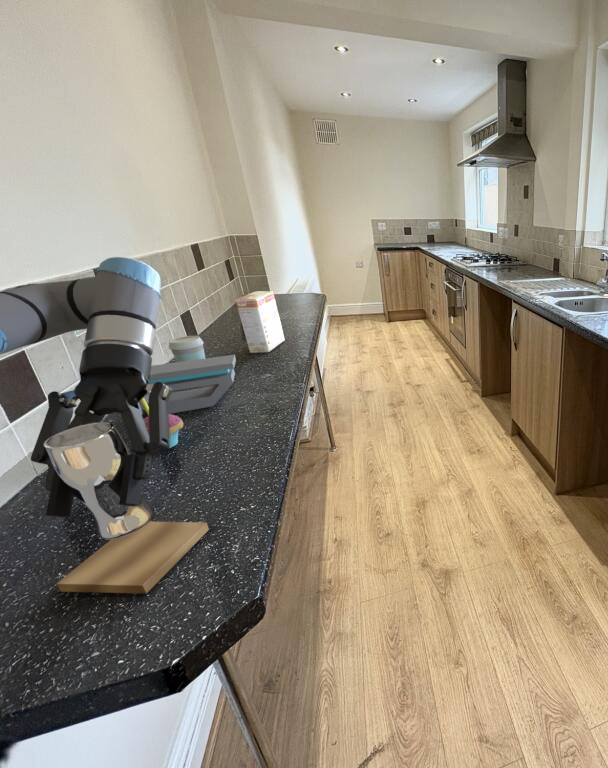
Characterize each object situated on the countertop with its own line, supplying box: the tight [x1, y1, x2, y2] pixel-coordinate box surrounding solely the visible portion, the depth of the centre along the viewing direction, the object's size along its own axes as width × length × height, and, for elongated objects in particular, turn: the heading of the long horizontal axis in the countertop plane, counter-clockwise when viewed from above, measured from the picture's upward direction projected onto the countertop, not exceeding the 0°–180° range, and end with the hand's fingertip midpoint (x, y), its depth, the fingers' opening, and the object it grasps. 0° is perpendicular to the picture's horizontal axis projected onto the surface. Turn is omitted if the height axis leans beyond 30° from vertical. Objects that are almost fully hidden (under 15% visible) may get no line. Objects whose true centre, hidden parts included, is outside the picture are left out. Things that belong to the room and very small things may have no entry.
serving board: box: [56, 521, 210, 594], centre depth 61 cm, size 12×12×2 cm
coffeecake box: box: [234, 290, 286, 354], centre depth 151 cm, size 15×7×20 cm, turn 6°
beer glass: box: [44, 421, 155, 541], centre depth 55 cm, size 7×7×15 cm
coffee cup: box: [168, 335, 206, 362], centre depth 125 cm, size 9×8×12 cm
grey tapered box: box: [139, 354, 237, 415], centre depth 106 cm, size 25×8×11 cm, turn 118°
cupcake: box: [141, 398, 184, 449], centre depth 88 cm, size 9×8×12 cm
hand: (94, 510), depth 53 cm, fingers closed on beer glass, 7 cm apart
